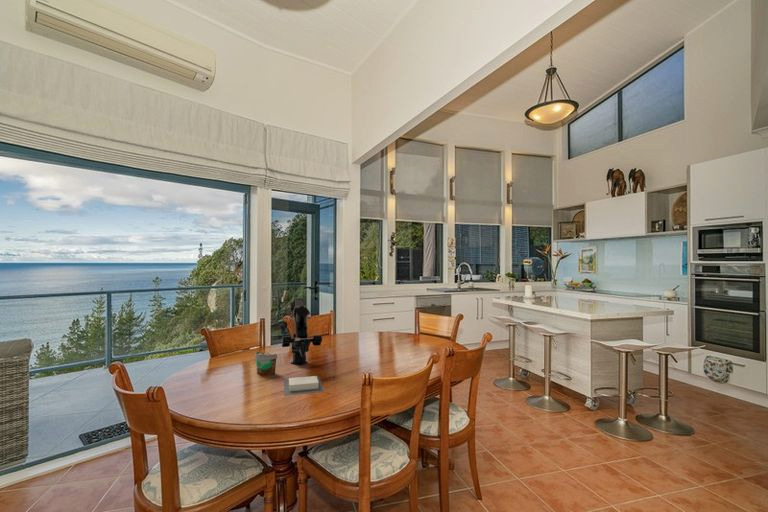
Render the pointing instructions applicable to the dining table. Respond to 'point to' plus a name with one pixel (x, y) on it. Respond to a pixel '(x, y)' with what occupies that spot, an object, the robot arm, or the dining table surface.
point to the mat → (287, 392)
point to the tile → (303, 383)
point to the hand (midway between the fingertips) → (302, 356)
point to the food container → (265, 363)
